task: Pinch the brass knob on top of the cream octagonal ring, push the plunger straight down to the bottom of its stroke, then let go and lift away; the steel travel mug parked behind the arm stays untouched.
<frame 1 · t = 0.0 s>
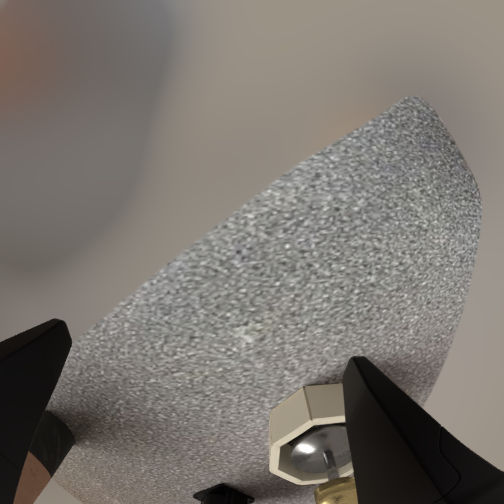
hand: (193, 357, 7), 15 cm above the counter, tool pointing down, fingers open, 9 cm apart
cream octagonal ring: (319, 423, 25), on the counter
plunger: (333, 476, 17), point 8 cm above the counter, slide at 0.0 cm
travel mug: (56, 427, 27), on the counter
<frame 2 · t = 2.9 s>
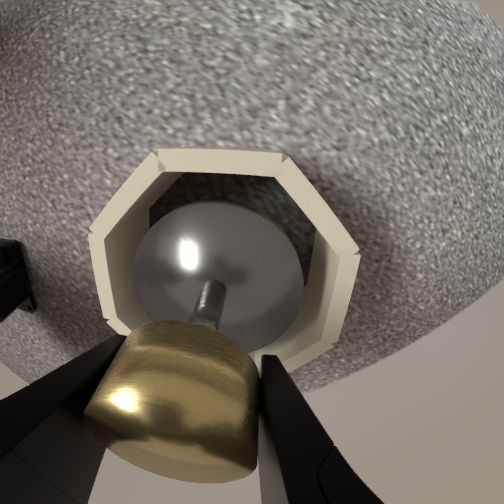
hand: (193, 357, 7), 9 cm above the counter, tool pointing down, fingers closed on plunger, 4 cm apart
cream octagonal ring: (228, 247, 15), on the counter
plunger: (198, 341, 8), point 8 cm above the counter, slide at 0.0 cm, touching gripper
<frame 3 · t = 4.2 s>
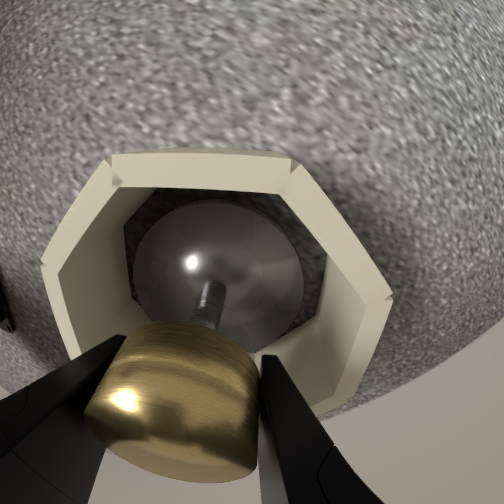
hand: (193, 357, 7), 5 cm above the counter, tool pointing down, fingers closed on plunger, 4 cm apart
cream octagonal ring: (220, 273, 12), on the counter
plunger: (198, 341, 8), point 5 cm above the counter, slide at 3.2 cm, touching gripper
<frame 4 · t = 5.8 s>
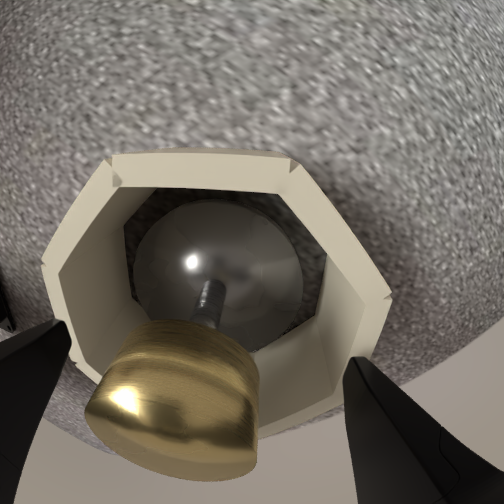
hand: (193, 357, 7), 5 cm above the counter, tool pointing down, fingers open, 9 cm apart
cream octagonal ring: (220, 272, 12), on the counter
plunger: (198, 340, 8), point 5 cm above the counter, slide at 3.2 cm
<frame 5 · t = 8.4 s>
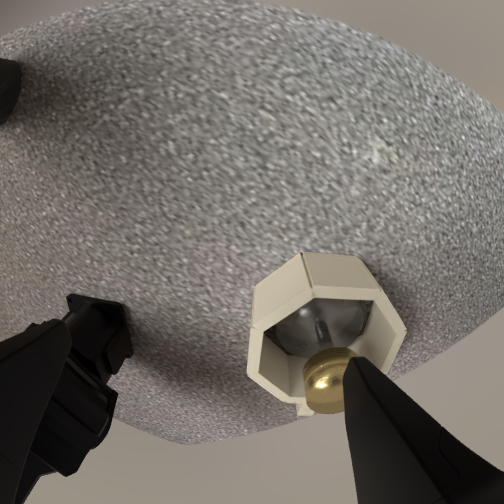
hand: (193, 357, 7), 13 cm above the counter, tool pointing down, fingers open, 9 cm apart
cream octagonal ring: (317, 314, 22), on the counter
plunger: (327, 353, 18), point 5 cm above the counter, slide at 3.2 cm
travel mug: (3, 92, 15), on the counter
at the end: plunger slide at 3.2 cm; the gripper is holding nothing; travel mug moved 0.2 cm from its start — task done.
